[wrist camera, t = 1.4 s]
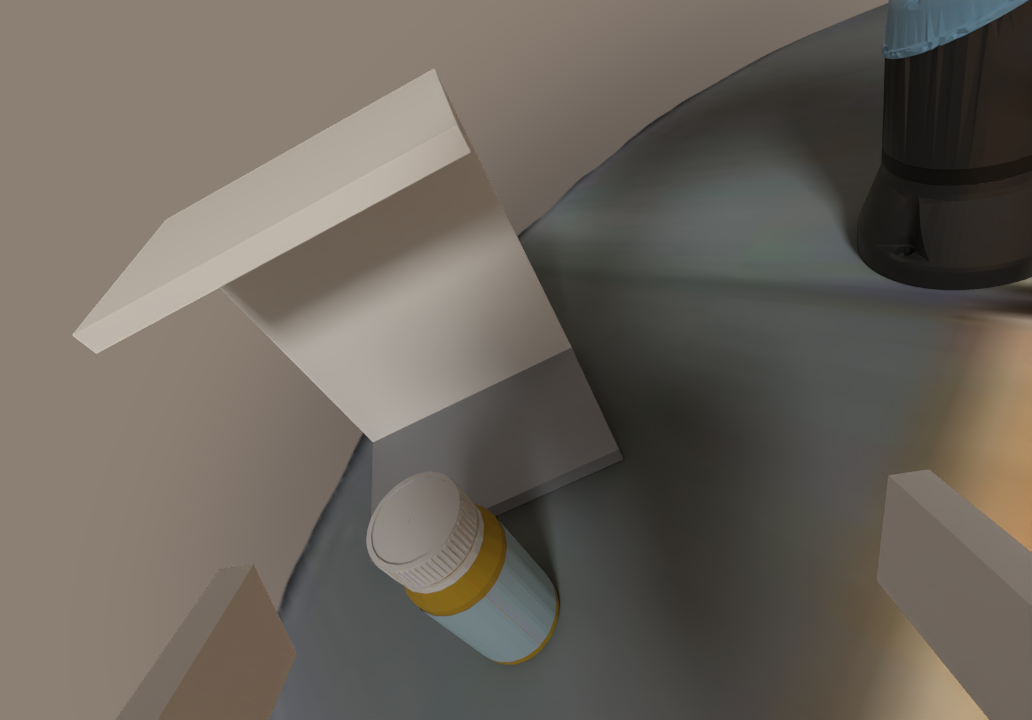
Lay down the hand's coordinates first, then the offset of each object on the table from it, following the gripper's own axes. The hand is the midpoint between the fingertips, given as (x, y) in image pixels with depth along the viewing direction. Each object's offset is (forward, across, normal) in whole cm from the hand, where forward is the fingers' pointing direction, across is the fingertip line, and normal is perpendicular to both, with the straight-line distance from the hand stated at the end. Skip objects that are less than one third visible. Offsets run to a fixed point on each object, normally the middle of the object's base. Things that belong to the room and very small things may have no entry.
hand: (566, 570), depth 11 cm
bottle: (+20, -5, -24) cm, 32 cm away
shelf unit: (+36, -8, -19) cm, 42 cm away
